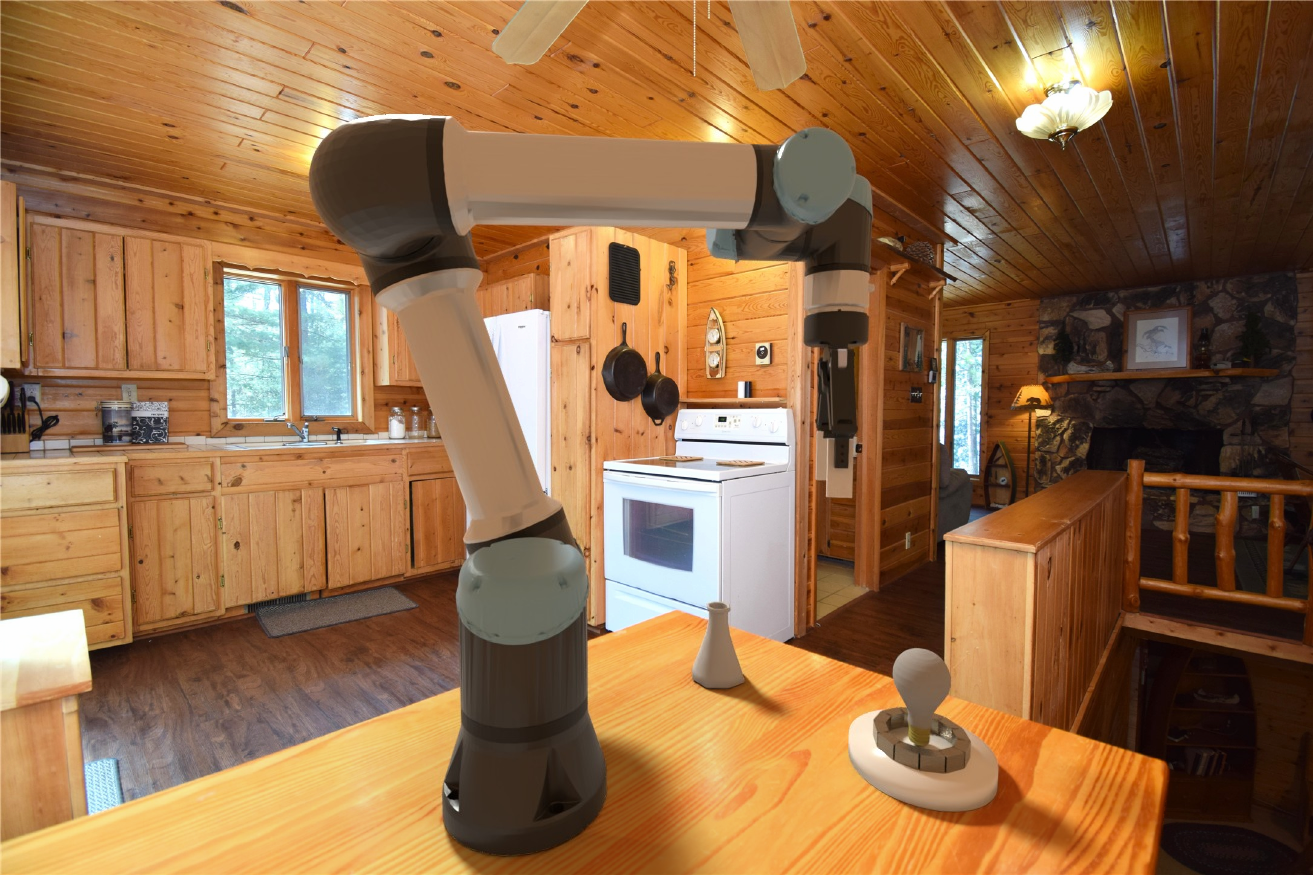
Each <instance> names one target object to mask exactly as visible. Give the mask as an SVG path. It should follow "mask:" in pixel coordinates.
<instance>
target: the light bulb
mask: <svg viewBox="0 0 1313 875" xmlns="http://www.w3.org/2000/svg"><path fill="white" fill-rule="evenodd" d="M892 680H893V684H894V685H895V688H896V691H897V692H898V694H899V695H900V698H901V699H902V701H903V703H904V705H905V707H906V708H907V711H908V722H909V733H908V737H909V740H910V741H911V742H913V743H914V744H916V745H918V746H925V745H928V744H929V742H930V728H931V726H932V716H933V713H935V712H936V710H938V708H939V706H941V704H943V702H944V701H945V700H946V699H947V697H948V696H949V694H950V691H951V687H952V676H951V673H950V669H949V668H948V665H947V664H946V662H945V661H944V660H943V659H942V657H940V656H939V655H938V654H937V653H935V652H933V651H931V650H930V649H926V648H919V647H918V648H917V647H914V648H913V647H912V648H909V649H906V650H904V651H903V652H902V653H900V654H899V655H898V656H897V658H896V659H895V661H894V664H893V666H892Z"/></svg>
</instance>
